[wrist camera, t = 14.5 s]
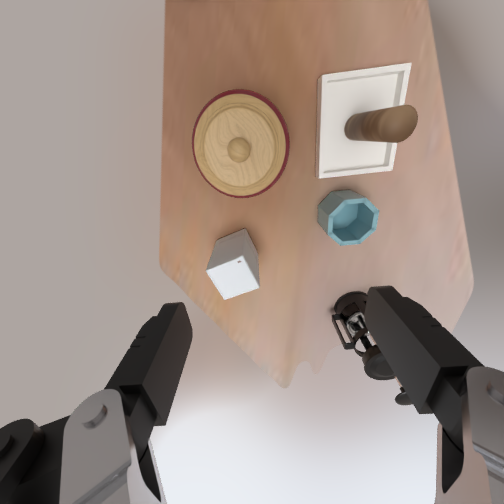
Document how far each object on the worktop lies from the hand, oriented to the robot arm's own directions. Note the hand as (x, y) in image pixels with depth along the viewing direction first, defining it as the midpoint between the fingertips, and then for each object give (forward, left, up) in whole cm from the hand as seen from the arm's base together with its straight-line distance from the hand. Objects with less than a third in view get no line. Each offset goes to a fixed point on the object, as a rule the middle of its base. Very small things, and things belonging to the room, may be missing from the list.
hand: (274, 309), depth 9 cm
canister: (-6, -2, -36) cm, 37 cm away
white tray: (-7, +18, -36) cm, 41 cm away
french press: (+34, +21, -36) cm, 54 cm away
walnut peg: (-7, +18, -35) cm, 40 cm away
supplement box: (+14, -6, -36) cm, 39 cm away
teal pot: (+8, +16, -36) cm, 40 cm away
